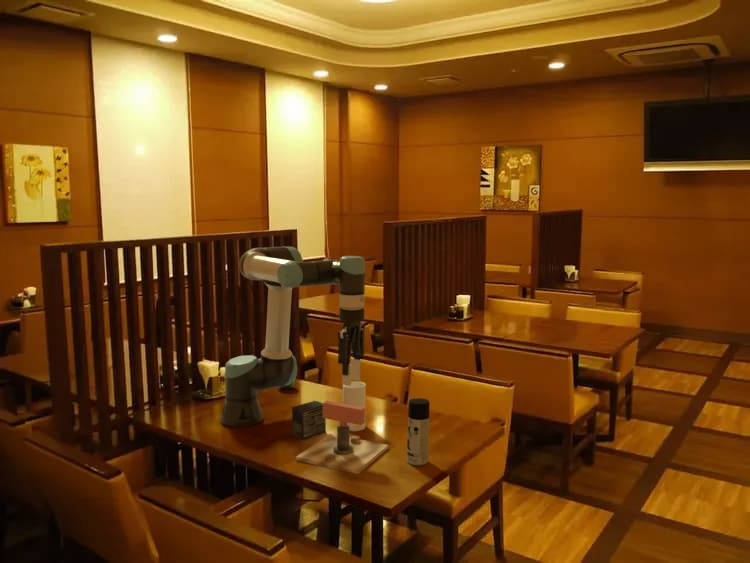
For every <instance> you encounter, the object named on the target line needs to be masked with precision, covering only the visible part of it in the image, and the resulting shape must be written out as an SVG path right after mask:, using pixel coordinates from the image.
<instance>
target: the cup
mask: <svg viewBox="0 0 750 563" xmlns="http://www.w3.org/2000/svg"><path fill="white" fill-rule="evenodd" d="M366 389H367V387H366V383H365V382H363V381H361V380H359V381H358V380H351V386H347V385H342V404H348V405H354V406H359V407H365V408H366V399H367V398H366V397H367V396H366ZM347 425H348V426H350V432H359V431H363V430H365V429H366V422H365V423H363V424H362V425H358V424H352V423H347Z"/></svg>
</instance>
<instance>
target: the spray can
mask: <svg viewBox="0 0 750 563" xmlns="http://www.w3.org/2000/svg"><path fill="white" fill-rule="evenodd" d="M430 405H431V404H430V400H429V399H426V398H421V397H420V398H417V397H416V398H411V399H409V400H408V413H407V414H408V415H407V442H406V443H407V445H406V461H407V463H408V464H409V465H412V466H415V467H421V466H422V467H423V466H424V465H426V464H428V462H429V460H428V458H429V440H430V439H429V433H430Z"/></svg>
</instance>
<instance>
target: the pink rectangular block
mask: <svg viewBox="0 0 750 563" xmlns="http://www.w3.org/2000/svg"><path fill="white" fill-rule="evenodd" d="M322 403H323V418H325V419H326V420H332V421H336V422H337V421H338V422H339V425H340V427H343V428H344V427H347V423H352V424H358V425H362V424H363V423H365V424H366V406H365V407H359V406H354V405H348V404H343V402H342V403H341V402H335V401H330V400H326V401H324V402H322Z"/></svg>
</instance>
